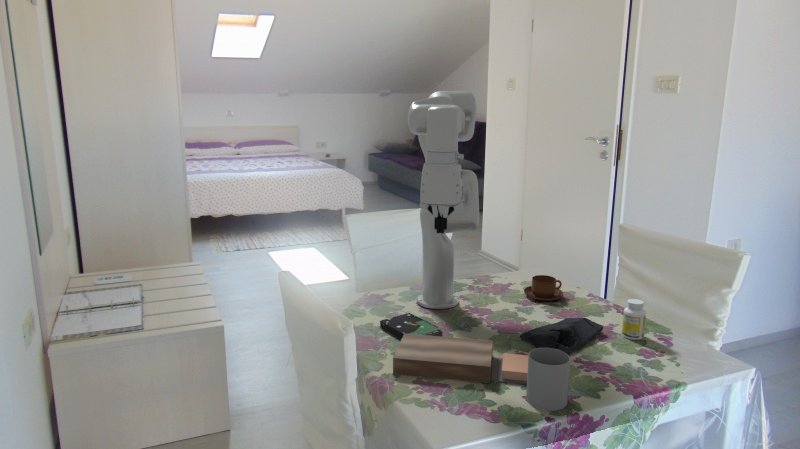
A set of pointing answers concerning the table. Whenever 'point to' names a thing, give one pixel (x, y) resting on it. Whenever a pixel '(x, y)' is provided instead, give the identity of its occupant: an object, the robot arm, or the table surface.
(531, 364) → the cup
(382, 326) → the disk drive
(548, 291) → the cup and saucer
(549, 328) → the dark slate chunk
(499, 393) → the table surface
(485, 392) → the table surface
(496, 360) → the mat
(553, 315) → the table surface
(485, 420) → the table surface
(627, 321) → the supplement bottle
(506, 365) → the tile
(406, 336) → the board
